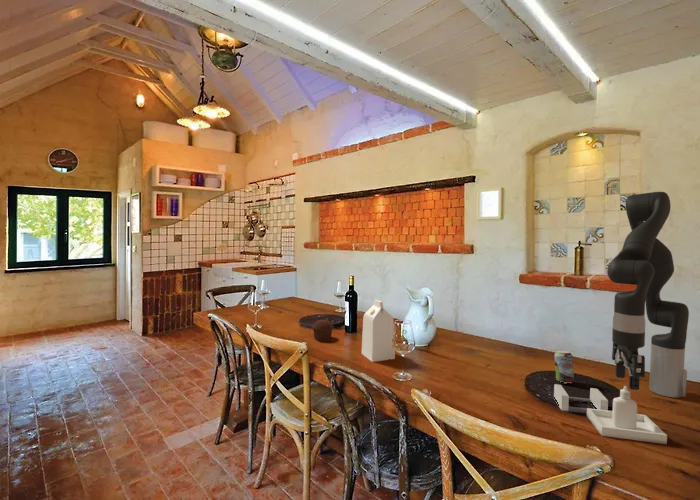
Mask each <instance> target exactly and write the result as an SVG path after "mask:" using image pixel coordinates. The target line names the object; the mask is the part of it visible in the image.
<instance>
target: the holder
mask: <svg viewBox="0 0 700 500" xmlns="http://www.w3.org/2000/svg"><path fill="white" fill-rule="evenodd" d="M554 397H555V399H556V400H557V402H558V404H559V406H558V408H559V409H560V410H561V411H563V412H571V413H573V412H574V413H580V414H587V408H588V407H587V408H586V407H580V406H579V407H578V406H577V407H576V406H570V405H569V404H570V403H569V402H570V401H569V399H573V400H582V401H589V402H592V403H593V405H594V406H595V407H596V408H597V409H599V410H608V409H609V408H608V407H609V400H608V398H606V396H605V395H603V393H602V392H601V391H600V390H599V389H598V388H594V387H590V390H589V398H586V397H576V396H569V394H568V393H567V391H566V390H565V388H564V387H563V386H562V384H557V383H555V384H554V386H553V398H554ZM555 399H554V400H555ZM557 402H556V403H557ZM558 404H557V405H558ZM608 411H609V410H608Z"/></svg>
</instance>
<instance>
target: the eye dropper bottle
mask: <svg viewBox="0 0 700 500" xmlns="http://www.w3.org/2000/svg"><path fill="white" fill-rule="evenodd" d="M631 396H632V395H631V391H630V390H629V389H628V386H626V385H623V388H621V389H620V390H619V396H618V397H614V398H613V399H612V410H611V411H612V423H613V424H614V425H615V426H617V427H620V428H624V429H636V423H637V414H638V404H637V403H636V401H635V400H633V399H632V398H631Z"/></svg>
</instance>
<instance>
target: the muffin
mask: <svg viewBox="0 0 700 500" xmlns="http://www.w3.org/2000/svg"><path fill="white" fill-rule="evenodd" d="M333 329H334V325H333V324H332V322H331V321H329V320H327V319H319V320H317V321H315V322H314V323H313V326H312V331H313V337H314V340H315V341H319V342H327V341H330V340H331V338H332V333H333Z"/></svg>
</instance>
